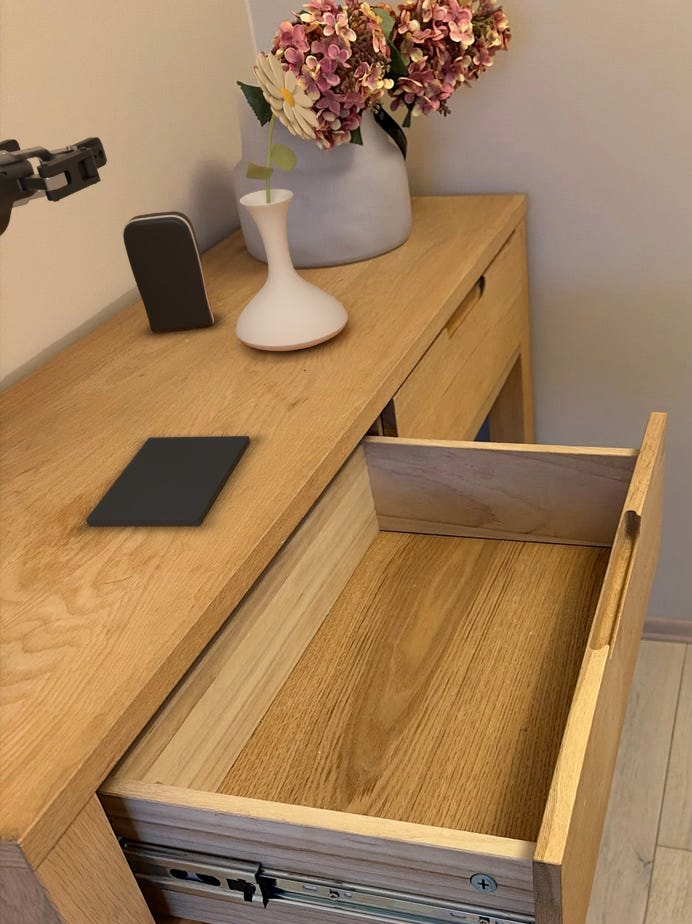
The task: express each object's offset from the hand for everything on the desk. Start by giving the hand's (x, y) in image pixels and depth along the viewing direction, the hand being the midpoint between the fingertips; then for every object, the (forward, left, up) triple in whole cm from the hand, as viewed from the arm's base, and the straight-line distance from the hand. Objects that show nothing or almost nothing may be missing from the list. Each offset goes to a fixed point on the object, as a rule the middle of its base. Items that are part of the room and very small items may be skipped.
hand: (58, 150), depth 85 cm
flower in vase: (+16, +7, -20) cm, 27 cm away
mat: (+13, -22, -20) cm, 32 cm away
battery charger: (+2, +11, -20) cm, 23 cm away
